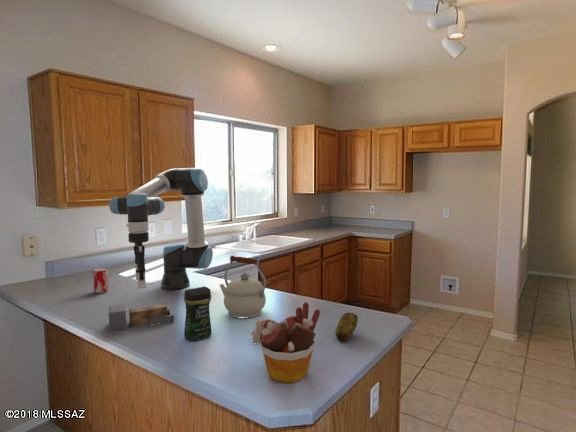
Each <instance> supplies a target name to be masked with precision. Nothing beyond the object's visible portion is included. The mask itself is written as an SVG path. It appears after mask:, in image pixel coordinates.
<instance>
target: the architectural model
mask: <svg viewBox="0 0 576 432" xmlns="http://www.w3.org/2000/svg"><path fill="white" fill-rule="evenodd" d="M249 334H250V336H252V344H253V343H256V344H257V343H260V334H259V331H258V329H257V326H256V327H255V329H253V330H252V332H250V333H249ZM260 344H261V343H260Z"/></svg>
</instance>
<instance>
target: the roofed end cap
mask: <svg viewBox="0 0 576 432" xmlns="http://www.w3.org/2000/svg"><path fill="white" fill-rule="evenodd" d="M126 313H127V311H126V304H125V303H123V304H113V305H108V325H109V327H108V328H109V329H108V330H109V332H115V331H120V330H121V329H122V330H126V329H127V315H126ZM122 330H121V331H122Z"/></svg>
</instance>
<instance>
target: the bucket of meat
mask: <svg viewBox="0 0 576 432" xmlns="http://www.w3.org/2000/svg"><path fill="white" fill-rule="evenodd" d="M309 306H310V305H309V303H308V302H306V301H305V302H303V304H302V307H300V306H298V307H297V308H296V310H295V316H294V315H292V316H287V317H286V318H285V319H283V320H281V321H280V322H278V321H275V320H273V319H259V320H256V322H255V323H256V324H255V325H256V327H257V329H258V331H259V334H260V345H261V350H262V353H263V357H264V363H265V366H266V370H267V374H268V377H270V378H271V379H272V378H273V379H272V380H274V381H276V382H278V383H281V382H286V383H285V384H292V382H293V383H296V382H295V381H297V382H299V380H300V381H301V380H302V379H303V378H304V377H305V376H306V374H308V372H309V368H310V364H311V360H312V355H313V352H314V347H315V343H316V341H315V336H316V333H315V332H314V331H315V328H316V325H317V323H318V320H319V317H320V315H321V311H320V309H315V310H314V312H313V314H312V316H311V319H310V320H309Z"/></svg>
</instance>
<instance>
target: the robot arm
mask: <svg viewBox="0 0 576 432" xmlns="http://www.w3.org/2000/svg"><path fill="white" fill-rule="evenodd" d="M208 185H209V180H208V177H207V174H206V172H205V171H204V170H203V169H202V168H196V167H187V168H186V167H184V168H177V167H176V168H170V169H167V170H165V171H163V172H160V173H158V174H157V175H155V176H154V177H153V178H152V180H149V182H146V183H145V184H143V185H141V186H139V187H137V188H136V189H134V190H132V191H131V192H129V193H127V194H125V195H123V196H114V197H111V199H110V200H109V204H108V205H109V206H108V207H109V211H110V212H111V213H112V214H114V215H120V216H122V215H127V224H126V227H127V229H128V235H127V236H128V242H129V243H130V244H131V243H132V244H134V246H133V253H134V263H135V265H134V266H135V267H134V268H135V280H136V281H137V289H139V290H140V289H146V286H147V285H146V262H145V255H146V254H145V253H146V252H145V249H146V247H145V245H144V244H143V243H146V242H149V240H150V239H149V238H150V237H149V232H148V231H149V229H150V228H149V218H148V217H149V216H153V215H155V216H156V215H159V214H161V213H163V211H164V210H165V207H166V206H165V204H166V203H165V202H164V200H163V199H162V198H161V197H158V196H159V195H160V194H166V193H167V192H171V191H178V192H180V193H181V196H182V197H183V198H184V202H185V203H184V204H185V215H186V216H185V217H186V228H187V239H188V240H187V241H188V242H187V243H174V244H169V245H166V246H164V248H163V253H162V256H163V274H162V278H161V282H160V287H161V289H164V290H180V289H185V288H187V287H189V286H190V283H191V282H190V278H189V276H188V273H187V269H196V270H197V269H198V270H200V269H208V268H209V267H210V265H211V263H212V260H213V255H214V251H213V249H212V247H210V246H209V242H208V241H206V240H205V237H206V236H205V226H204V225H205V223H204V209H203V199H202V197H203V196H204V195H205V191H207V189H208Z"/></svg>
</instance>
